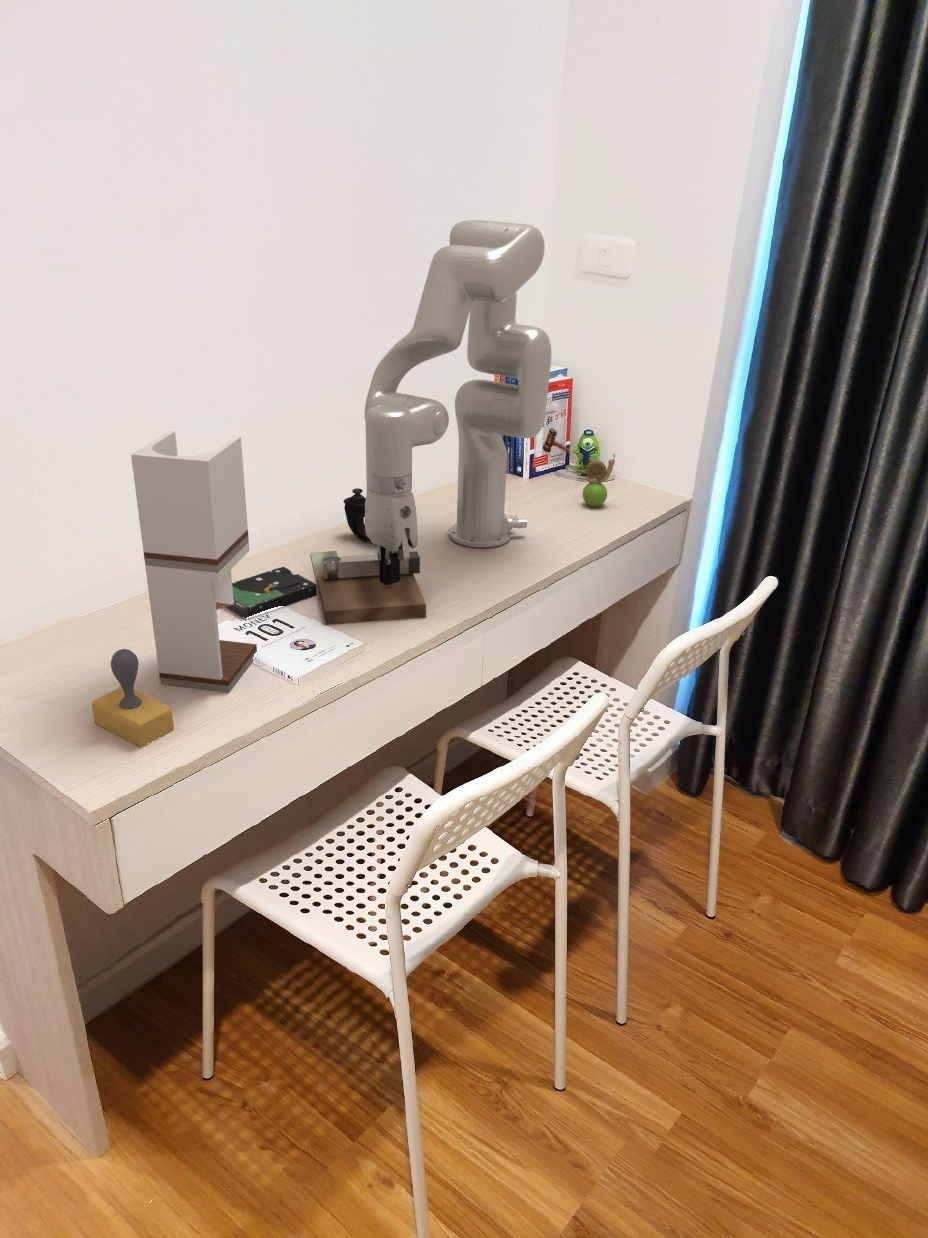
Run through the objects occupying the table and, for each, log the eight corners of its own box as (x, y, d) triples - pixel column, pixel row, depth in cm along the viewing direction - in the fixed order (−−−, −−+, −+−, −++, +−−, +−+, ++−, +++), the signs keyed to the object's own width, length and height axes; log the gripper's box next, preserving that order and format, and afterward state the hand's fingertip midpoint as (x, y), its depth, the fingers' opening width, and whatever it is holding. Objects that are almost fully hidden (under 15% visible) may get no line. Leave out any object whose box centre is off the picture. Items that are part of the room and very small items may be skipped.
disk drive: (283, 579, 179) (213, 602, 169) (282, 565, 178) (212, 587, 168) (318, 598, 172) (247, 622, 163) (317, 583, 171) (246, 607, 162)
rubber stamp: (93, 724, 134) (80, 647, 128) (128, 706, 138) (117, 631, 133) (141, 749, 129) (129, 670, 124) (175, 729, 133) (166, 653, 128)
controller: (354, 530, 200) (353, 484, 195) (402, 545, 194) (402, 497, 189) (340, 536, 196) (339, 489, 192) (389, 551, 190) (389, 503, 186)
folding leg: (323, 579, 171) (323, 563, 169) (322, 572, 173) (321, 556, 172) (419, 573, 174) (420, 558, 173) (416, 566, 177) (416, 551, 176)
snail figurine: (611, 510, 215) (617, 457, 209) (582, 509, 215) (587, 456, 209) (608, 501, 219) (614, 450, 214) (580, 500, 219) (585, 449, 214)
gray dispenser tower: (229, 692, 142) (207, 461, 126) (160, 684, 143) (130, 454, 128) (257, 655, 152) (240, 436, 136) (193, 648, 154) (169, 430, 138)
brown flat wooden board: (397, 549, 192) (397, 537, 190) (425, 617, 166) (426, 604, 164) (310, 554, 188) (310, 542, 187) (325, 624, 162) (324, 611, 161)
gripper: (433, 490, 158) (432, 592, 166) (383, 465, 169) (384, 562, 177) (395, 498, 154) (395, 603, 162) (346, 472, 165) (348, 572, 173)
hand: (389, 581), depth 170 cm, fingers closed
